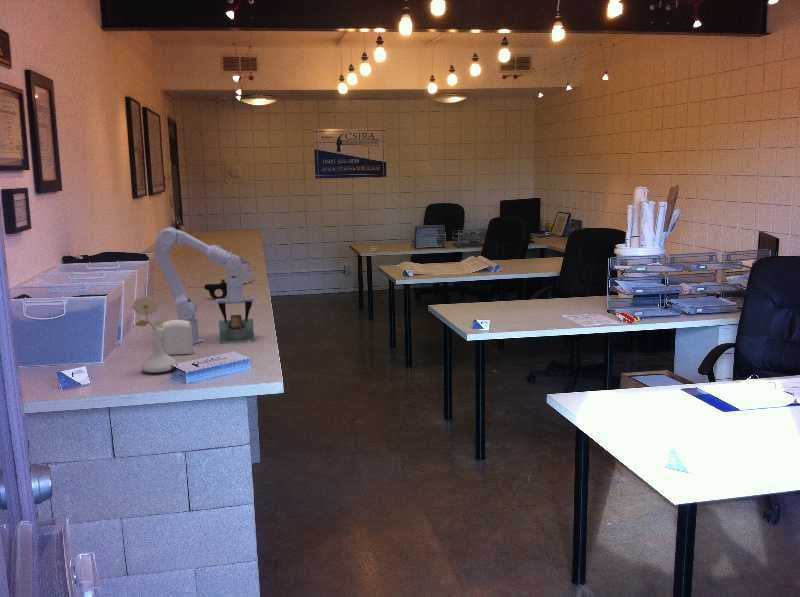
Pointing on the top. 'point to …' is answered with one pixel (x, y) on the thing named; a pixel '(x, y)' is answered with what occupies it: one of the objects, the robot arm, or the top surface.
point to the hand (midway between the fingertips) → (236, 321)
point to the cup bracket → (236, 332)
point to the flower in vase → (158, 358)
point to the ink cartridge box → (246, 272)
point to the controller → (214, 287)
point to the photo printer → (177, 337)
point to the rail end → (236, 322)
